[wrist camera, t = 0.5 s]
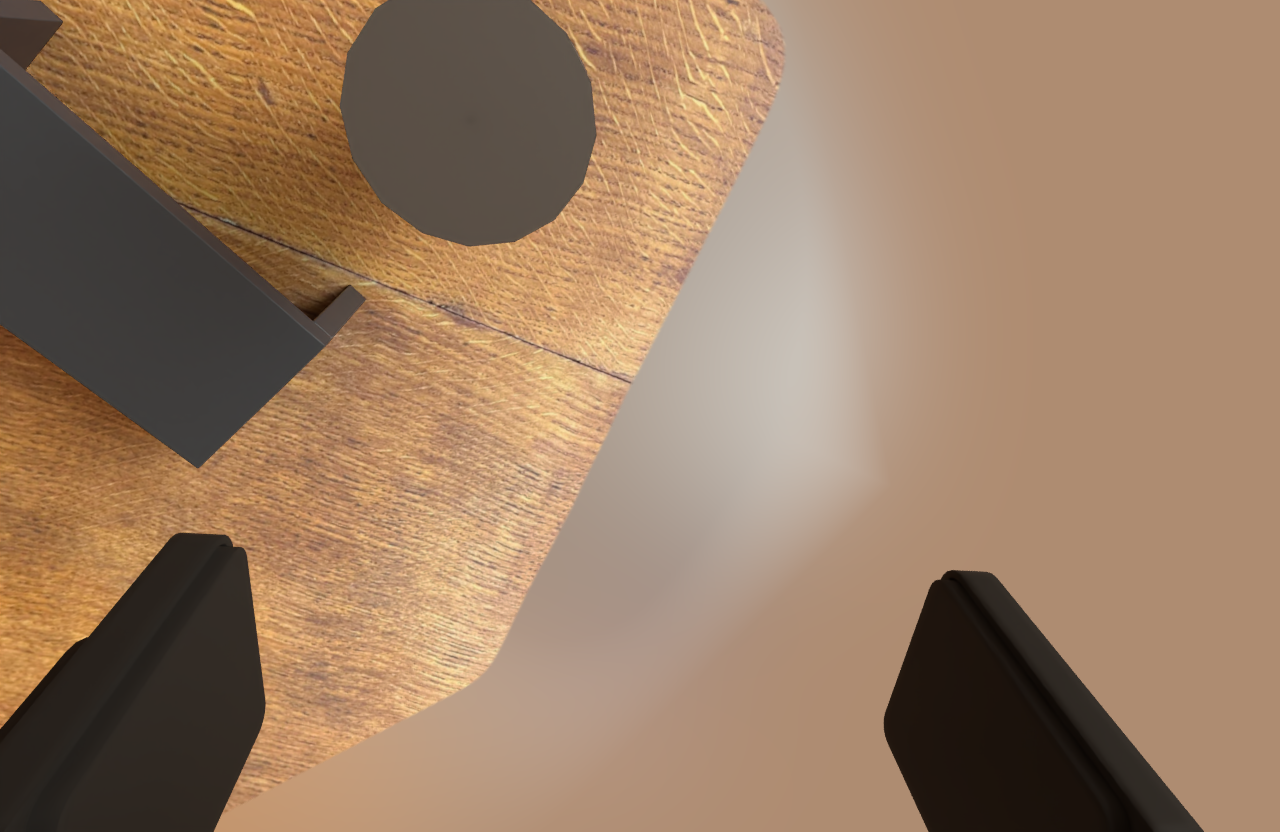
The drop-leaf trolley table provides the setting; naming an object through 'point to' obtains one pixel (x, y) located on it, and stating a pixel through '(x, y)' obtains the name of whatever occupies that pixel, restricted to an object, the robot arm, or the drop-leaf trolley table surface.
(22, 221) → the shelf
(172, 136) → the drop-leaf trolley table surface
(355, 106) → the candle holder
